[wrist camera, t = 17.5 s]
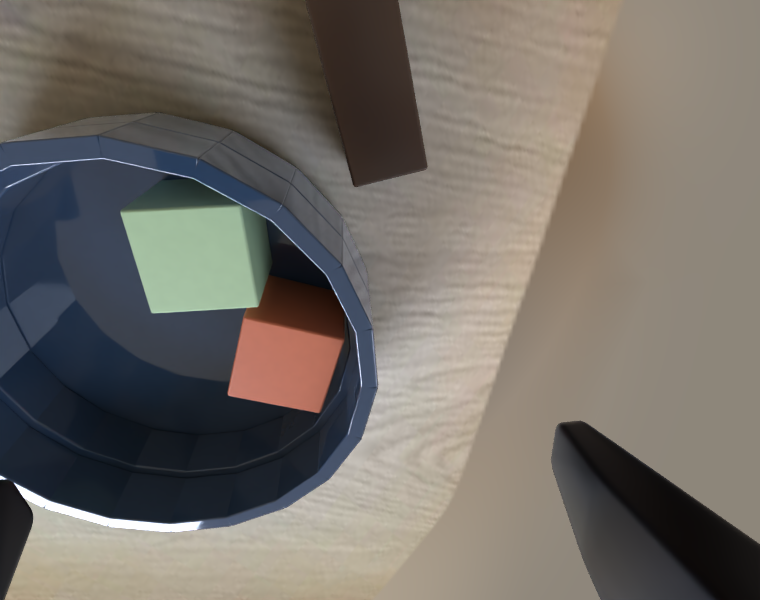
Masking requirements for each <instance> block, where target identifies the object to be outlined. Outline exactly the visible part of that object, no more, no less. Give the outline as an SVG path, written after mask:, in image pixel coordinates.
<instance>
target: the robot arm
mask: <svg viewBox="0 0 760 600" xmlns="http://www.w3.org/2000/svg"><path fill="white" fill-rule="evenodd" d="M551 462H552V469H553V472H554V475H555V478H556V481H557V484H558V487H559V490H560V493H561V496H562V499H563V502H564V505H565V508H566V511H567V513H568V517H569V520H570V523H571V526H572V529H573V532H574V535H575V538H576V540H577V544H578V546H579V549H580V552H581V555H582V558H583V560H584V563H585V565H586V568H587V570H588V572H589V574H590V577H591V579H592V581H593V584H594V586H595V588H596V590H597V592H598V595H599V597H600V599H601V600H760V544H759V543H757V542H756V541H754V540H753V539H752V538H750V537H749V536H747V535H746V534H745V533H743V532H742V531H740V530H739V529H737V528H736V527H734V526H733V525H732V524H730V523H729V522H727V521H726V520H724V519H723V518H722V517H720V516H718V515H717V514H716V513H714V512H713V511H712V510H710V509H709V508H707V507H706V506H704V505H703V504H701V503H700V502H699V501H697V500H696V499H694V498H693V497H691V496H690V495H689V494H687V493H686V492H684V491H683V490H682V489H680V488H679V487H677V486H676V485H674V484H673V483H671V482H670V481H669V480H667V479H666V478H664V477H663V476H661V475H660V474H659V473H657V472H656V471H654V470H653V469H651V468H650V467H649V466H647V465H646V464H644V463H643V462H641V461H640V460H639V459H637V458H636V457H634V456H633V455H631V454H630V453H628V452H627V451H626V450H624V449H623V448H621V447H620V446H618V445H617V444H616V443H614V442H613V441H611V440H610V439H608V438H606V436H604V435H603V434H601V433H600V432H598V431H597V430H596V429H594V428H593V427H591V426H590V425H588V424H587V423H585V422H582V421H572V422H563V423H560V424H558V425H557V427H556V430H555V437H554V443H553V450H552V457H551ZM32 523H33V513H32V510H31V508H30V507H29V505H28V504H27V502H26V500H25V499H24V497H23V496H22V494H21V493H20V491H19V490H18V488H17V487H16V485H15V484H14V483H13V482H12V481H10V480H8V479H1V480H0V600H4V599H5V597H6V594H7V591H8V589H9V586H10V583H11V581H12V578H13V575H14V573H15V570H16V567H17V565H18V562H19V559H20V557H21V554H22V552H23V549H24V546H25V544H26V541H27V538H28V536H29V533H30V530H31V527H32Z"/></svg>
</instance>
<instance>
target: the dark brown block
mask: <svg viewBox="0 0 760 600" xmlns="http://www.w3.org/2000/svg"><path fill="white" fill-rule="evenodd" d="M305 2H306V5H307V9H308V13H309V17H310V21H311V25H312V29H313V32H314V36H315V40H316V44H317V48H318V52H319V55H320V59H321V63H322V67H323V71H324V75H325V79H326V82H327V86H328V90H329V94H330V98H331V102H332V105H333V109H334V113H335V117H336V121H337V125H338V129H339V132H340V136H341V140H342V144H343V148H344V152H345V155H346V159H347V163H348V167H349V171H350V175H351V178H352V182H353V185H354V187H358V186H362V185H367V184H371V183H375V182H379V181H383V180H387V179H391V178H395V177H399V176H403V175H407V174H411V173H415V172H419V171H423V170H426V169H427V167H428V166H427V160H426V154H425V149H424V143H423V137H422V132H421V126H420V120H419V115H418V109H417V104H416V98H415V92H414V87H413V81H412V75H411V70H410V64H409V58H408V53H407V47H406V42H405V36H404V30H403V25H402V19H401V13H400V8H399V2H398V0H305Z"/></svg>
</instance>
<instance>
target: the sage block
mask: <svg viewBox="0 0 760 600" xmlns="http://www.w3.org/2000/svg"><path fill="white" fill-rule="evenodd" d="M121 216H122V220H123V223H124V226H125V229H126V233H127V236H128V239H129V242H130V246H131V249H132V252H133V255H134V258H135V262H136V265H137V268H138V271H139V275H140V278H141V281H142V284H143V288H144V291H145V294H146V297H147V301H148V304H149V307H150V310H151V312H152V313H168V312H184V311H201V310H217V309H234V308H250V307H258V306H259V303H260V300H261V297H262V294H263V291H264V288H265V285H266V282H267V279H268V276H269V273H270V270H271V266H272V256H271V250H270V243H269V237H268V231H267V224H266V218H265V217H263V216H261V215H259V214H258V213H256V212H254V211H252V210H250V209H248V208H246V207H245V206H243V205H241V204H239V203H237V202H235V201H233V200H231V199H230V198H228V197H226V196H224V195H222V194H220V193H218V192H217V191H215V190H213V189H211V188H209V187H207V186H205V185H204V184H202V183H200V182H198V181H196V180H194V179H180V180H161V181H160V182H158V183H157V184H156V185H154V186H153V187H152V188H150V189H149V190H148V191H146V192H145V193H143V194H142V195H141V196H139V197H138V198H137V199H135V200H134V201H133V202H131V203H130V204H129V205H127V206H126V207H125V208H123V209H122V210H121Z"/></svg>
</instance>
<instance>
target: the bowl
mask: <svg viewBox="0 0 760 600" xmlns="http://www.w3.org/2000/svg"><path fill="white" fill-rule="evenodd" d="M180 179H194V180H196V181H198V182H200V183H202V184H204V185H205V186H207V187H209V188H211V189H213V190H215V191H217V192H218V193H220V194H222V195H224V196H226V197H228V198H230V199H231V200H233V201H235V202H237V203H239V204H241V205H243V206H245V207H246V208H248V209H250V210H252V211H254V212H256V213H258V214H259V215H261V216H263V217H265V218H266V224H267V231H268V237H269V243H270V250H271V256H272V266H271V270H270V273H269V275H271V276H276V277H280V278H284V279H288V280H292V281H296V282H300V283H304V284H308V285H312V286H316V287H320V288H324V289H328V290H332V291H334V292H335V294H336V296H337V298H338V300H339V302H340V304H341V306H342V308H343V310H344V312H345V341H344V344H343V347H342V350H341V353H340V356H339V359H338V362H337V365H336V368H335V371H334V374H333V377H332V380H331V383H330V386H329V389H328V392H327V395H326V398H325V401H324V404H323V407H322V410H321V412H320V413H316V412H311V411H306V410H300V409H295V408H290V407H285V406H279V405H274V404H269V403H264V402H258V401H253V400H248V399H243V398H237V397H232V396H228V393H227V392H228V388H229V383H230V378H231V373H232V369H233V364H234V359H235V354H236V349H237V345H238V340H239V335H240V330H241V326H242V321H243V317H244V314H245V311H246V309H247V308H234V309H217V310H201V311H184V312H168V313H152V312H151V310H150V307H149V304H148V301H147V297H146V294H145V291H144V288H143V284H142V281H141V278H140V275H139V271H138V268H137V265H136V262H135V258H134V255H133V252H132V249H131V246H130V242H129V239H128V236H127V233H126V229H125V226H124V223H123V220H122V216H121V210H122V209H123V208H125V207H126V206H127V205H129V204H130V203H131V202H133V201H134V200H135V199H137V198H138V197H139V196H141V195H142V194H143V193H145V192H146V191H148V190H149V189H150V188H152V187H153V186H154V185H156V184H157V183H158V182H160V181H161V180H180ZM377 389H378V377H377V366H376V354H375V343H374V331H373V321H372V312H371V303H370V293H369V284H368V274H367V271H366V267H365V264H364V262H363V260H362V258H361V256H360V254H359V251H358V249H357V247H356V245H355V243H354V241H353V238H352V236H351V234H350V232H349V230H348V228H347V225H346V223H345V221H344V219H343V218H342V216H341V214H340V213H339V212H338V211H337V210H336V209H335V208H334V207H333V206H332V205H331V204H330V202H329V201H328V200H327V199H326V198H325V197H324V196H323V195H322V194H321V193H320V192H319V191H318V189H317V188H316V187H315V186H314V185H313V184H312V183H311V182H310V181H309V180H308V179H307V178H306V177H305V175H304V174H303V173H302V172H301V171H300V170H299V169H298V168H296V167H295V166H294V165H292V164H290V163H288V162H287V161H285V160H283V159H282V158H280V157H278V156H277V155H275V154H273V153H271V152H270V151H268V150H266V149H265V148H263V147H261V146H259V145H258V144H256V143H254V142H253V141H251V140H249V139H247V138H246V137H244V136H242V135H241V134H239V133H237V132H235V131H234V132H233V130H231V129H227V128H223V127H219V126H215V125H211V124H206V123H202V122H198V121H194V120H190V119H186V118H182V117H177V116H173V115H169V114H165V113H157V112H155V113H142V114H130V115H117V116H104V117H92V118H85V119H82V120H78V121H75V122H71V123H68V124H64V125H61V126H57V127H54V128H50V129H46V130H43V131H39V132H36V133H32V134H29V135H25V136H22V137H18V138H15V139H11V140H8V141H4V142H1V143H0V480H1V479H8V480H10V481H12V482H13V483H14V484H15V485H16V487H17V488H18V490H19V491H20V493H21V494H22V496H23V497H24V499H26V500H28V501H30V502H32V503H34V504H36V505H38V506H40V507H44V508H45V509H48V510H52V511H55V512H59V513H62V514H66V515H69V516H73V517H76V518H80V519H83V520H87V521H90V522H94V523H97V524H101V525H104V526H108V525H109V527H117V528H128V529H139V530H150V531H161V532H181V531H191V530H200V529H210V528H219V527H229V526H231V525H232V526H234V525H237V524H240V523H243V522H246V521H248V520H251V519H254V518H257V517H260V516H263V515H266V514H269V513H272V512H275V511H278V510H281V509H284V508H287V507H288V506H290V505H291V504H293V503H294V502H296V501H297V500H299V499H300V498H302V497H303V496H305V495H306V494H308V493H309V492H311V491H312V490H314V489H315V488H317V487H318V486H320V485H321V484H323V483H325V482H326V481H328V480H329V479H330V478H331V477H332V475H333V474H334V473H335V472H336V470H337V469H338V468H339V467H340V465H341V464H342V463H343V462H344V460H345V459H346V458H347V457H348V455H349V454H350V453H351V452H352V450H353V449H354V448H355V447H356V445H357V444H358V443H359V442H360V440H361V439H362V436H363V434H364V431H365V427H366V424H367V421H368V418H369V415H370V411H371V408H372V405H373V402H374V399H375V395H376V392H377Z"/></svg>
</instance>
